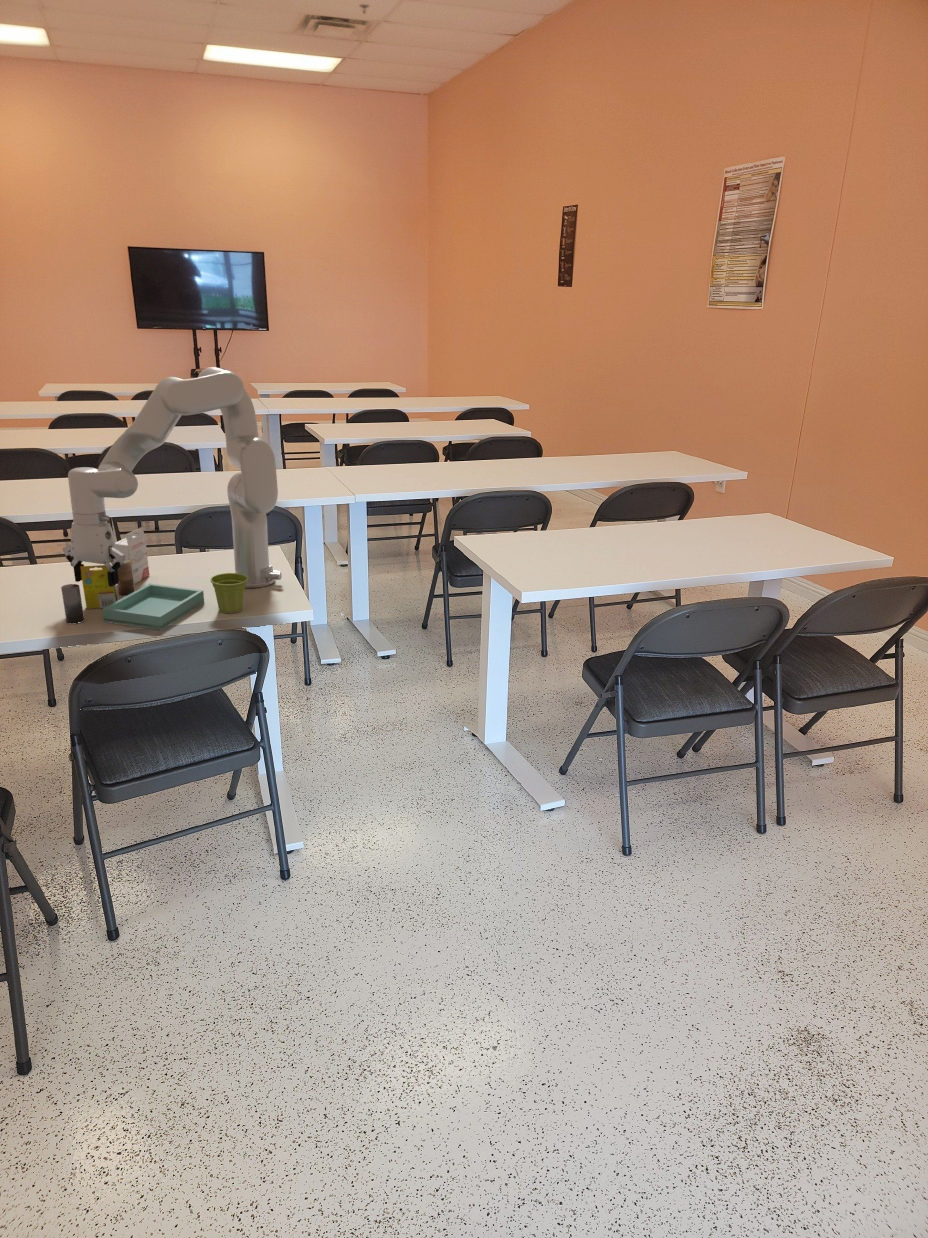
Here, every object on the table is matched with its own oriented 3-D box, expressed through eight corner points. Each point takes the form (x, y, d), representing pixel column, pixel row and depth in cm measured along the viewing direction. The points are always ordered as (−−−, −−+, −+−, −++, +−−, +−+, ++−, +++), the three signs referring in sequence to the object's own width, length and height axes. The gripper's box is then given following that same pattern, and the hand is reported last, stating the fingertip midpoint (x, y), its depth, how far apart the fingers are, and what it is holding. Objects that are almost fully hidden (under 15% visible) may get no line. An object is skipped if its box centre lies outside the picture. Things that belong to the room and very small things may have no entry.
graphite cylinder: (87, 618, 200) (82, 585, 196) (77, 624, 196) (71, 590, 193) (73, 616, 200) (68, 583, 197) (62, 622, 197) (57, 588, 193)
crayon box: (118, 603, 210) (112, 561, 206) (116, 607, 207) (111, 565, 203) (87, 605, 208) (81, 562, 204) (86, 609, 205) (79, 566, 201)
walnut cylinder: (137, 591, 219) (134, 560, 215) (128, 596, 215) (125, 564, 212) (124, 590, 219) (121, 558, 216) (115, 594, 216) (111, 563, 212)
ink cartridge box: (134, 573, 232) (128, 524, 227) (150, 575, 231) (144, 526, 226) (117, 583, 224) (110, 532, 219) (133, 585, 223) (127, 534, 218)
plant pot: (233, 600, 216) (231, 570, 212) (257, 609, 211) (255, 578, 208) (205, 610, 209) (202, 578, 205) (228, 619, 204) (226, 587, 200)
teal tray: (204, 602, 213) (203, 590, 212) (161, 630, 195) (160, 616, 194) (150, 595, 216) (149, 583, 215) (103, 622, 198) (102, 608, 197)
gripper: (129, 518, 201) (135, 582, 207) (69, 510, 204) (77, 574, 210) (110, 525, 194) (117, 591, 200) (49, 517, 197) (57, 582, 203)
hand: (97, 582), depth 205 cm, fingers open, 9 cm apart
